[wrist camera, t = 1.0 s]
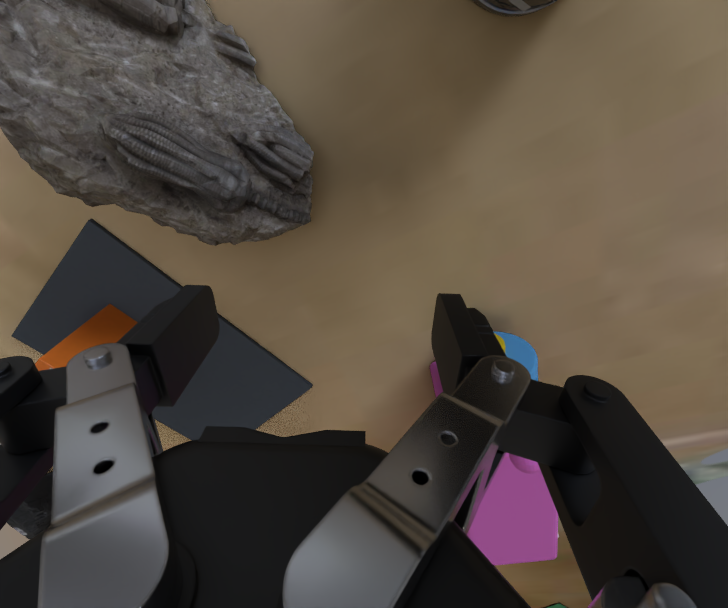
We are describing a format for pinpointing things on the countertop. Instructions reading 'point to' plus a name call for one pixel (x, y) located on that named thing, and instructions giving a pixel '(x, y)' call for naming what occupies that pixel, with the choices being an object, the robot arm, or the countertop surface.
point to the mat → (136, 299)
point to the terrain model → (557, 606)
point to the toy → (514, 492)
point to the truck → (88, 337)
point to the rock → (34, 510)
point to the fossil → (151, 116)
